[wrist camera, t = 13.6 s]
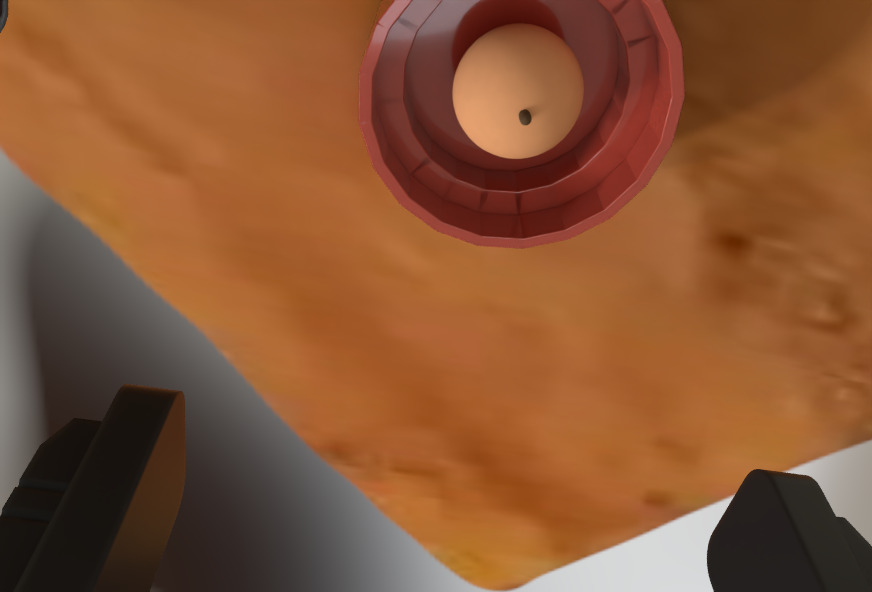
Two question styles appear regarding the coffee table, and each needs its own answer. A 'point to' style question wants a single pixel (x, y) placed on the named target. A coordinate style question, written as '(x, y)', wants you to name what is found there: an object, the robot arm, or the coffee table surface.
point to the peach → (518, 91)
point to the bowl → (528, 177)
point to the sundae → (3, 13)
